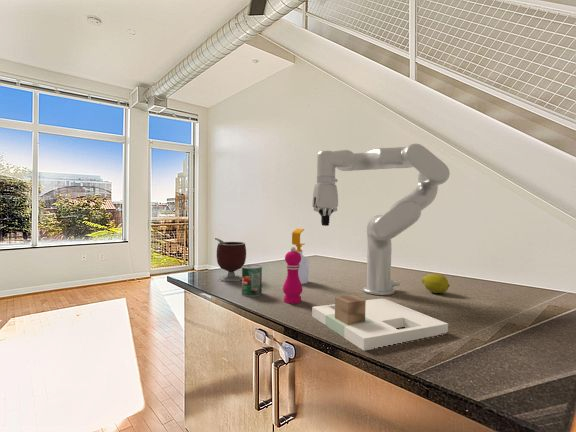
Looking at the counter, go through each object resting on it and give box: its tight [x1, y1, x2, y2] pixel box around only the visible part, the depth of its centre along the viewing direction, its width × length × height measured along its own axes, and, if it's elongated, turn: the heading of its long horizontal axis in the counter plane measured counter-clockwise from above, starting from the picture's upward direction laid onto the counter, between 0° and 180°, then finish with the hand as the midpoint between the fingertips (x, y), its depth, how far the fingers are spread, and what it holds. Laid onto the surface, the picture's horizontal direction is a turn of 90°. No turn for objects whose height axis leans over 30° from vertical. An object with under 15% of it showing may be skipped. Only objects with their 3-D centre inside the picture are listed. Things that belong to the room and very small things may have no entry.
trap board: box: [311, 297, 449, 351], centre depth 97 cm, size 28×27×3 cm
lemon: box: [421, 273, 451, 294], centre depth 135 cm, size 11×8×8 cm
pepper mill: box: [282, 246, 303, 305], centre depth 121 cm, size 7×7×20 cm
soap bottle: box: [291, 228, 310, 285], centre depth 151 cm, size 9×9×25 cm
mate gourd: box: [214, 237, 247, 282], centre depth 156 cm, size 16×14×20 cm
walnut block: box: [334, 294, 366, 325], centre depth 92 cm, size 6×6×6 cm
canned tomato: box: [241, 264, 263, 297], centre depth 130 cm, size 8×8×11 cm
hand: (325, 225), depth 137 cm, fingers closed
